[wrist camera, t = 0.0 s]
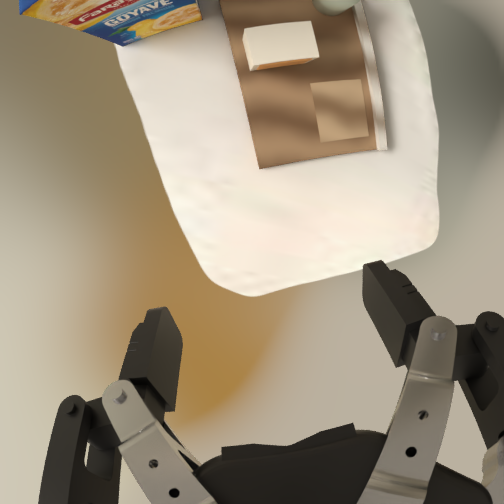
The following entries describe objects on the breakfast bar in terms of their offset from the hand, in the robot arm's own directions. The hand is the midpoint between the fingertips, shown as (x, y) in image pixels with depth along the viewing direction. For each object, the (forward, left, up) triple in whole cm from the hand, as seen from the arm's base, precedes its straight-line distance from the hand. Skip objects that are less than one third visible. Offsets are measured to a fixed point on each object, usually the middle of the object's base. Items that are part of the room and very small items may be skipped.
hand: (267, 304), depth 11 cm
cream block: (-13, +7, -28) cm, 32 cm away
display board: (-10, +11, -29) cm, 33 cm away
